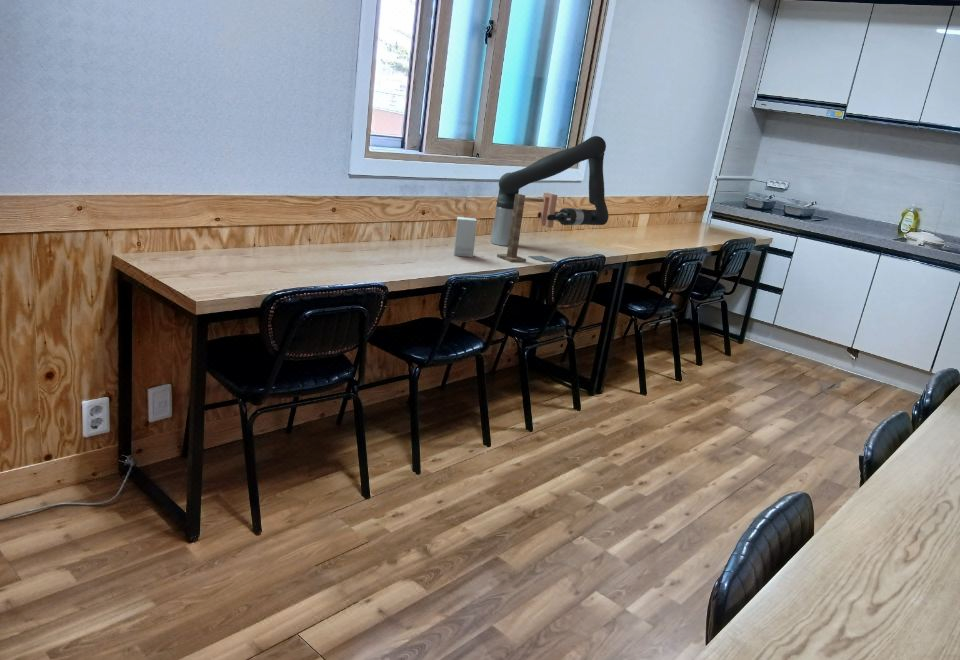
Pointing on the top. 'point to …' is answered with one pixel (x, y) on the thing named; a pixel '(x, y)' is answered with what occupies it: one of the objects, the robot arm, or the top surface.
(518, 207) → the stand
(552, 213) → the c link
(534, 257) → the mat
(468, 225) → the skincare box
